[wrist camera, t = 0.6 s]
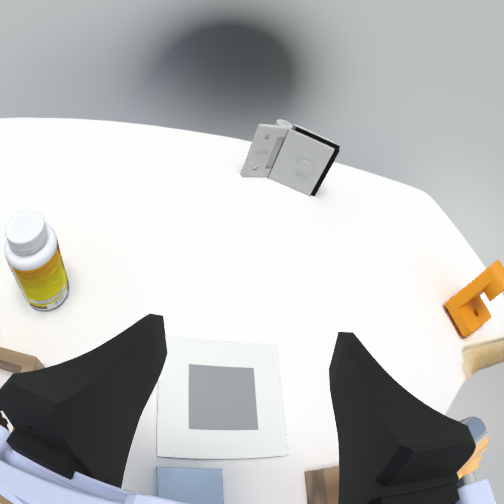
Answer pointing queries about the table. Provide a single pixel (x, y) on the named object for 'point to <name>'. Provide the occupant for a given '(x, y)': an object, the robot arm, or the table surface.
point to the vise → (481, 440)
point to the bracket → (476, 299)
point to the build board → (220, 401)
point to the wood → (3, 421)
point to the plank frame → (17, 365)
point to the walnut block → (322, 486)
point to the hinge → (290, 156)
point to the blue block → (190, 485)
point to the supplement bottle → (36, 260)
